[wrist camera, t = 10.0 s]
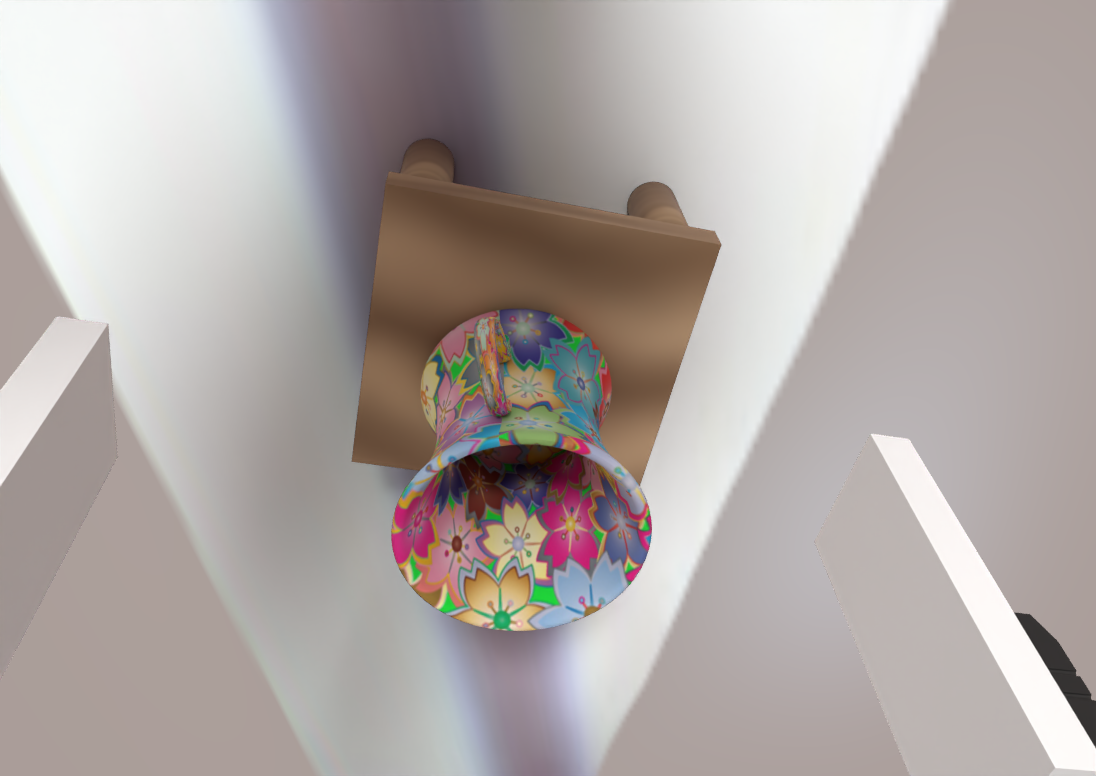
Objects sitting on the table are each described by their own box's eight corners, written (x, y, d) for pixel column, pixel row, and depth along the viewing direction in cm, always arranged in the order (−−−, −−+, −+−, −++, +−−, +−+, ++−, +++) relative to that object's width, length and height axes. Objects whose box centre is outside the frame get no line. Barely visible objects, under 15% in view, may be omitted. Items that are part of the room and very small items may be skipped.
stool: (401, 126, 42) (385, 183, 36) (689, 182, 44) (721, 244, 38) (369, 378, 50) (351, 461, 43) (617, 415, 52) (634, 499, 46)
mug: (628, 447, 44) (663, 613, 35) (438, 476, 44) (424, 648, 35) (597, 214, 37) (630, 346, 28) (374, 251, 38) (337, 393, 29)
